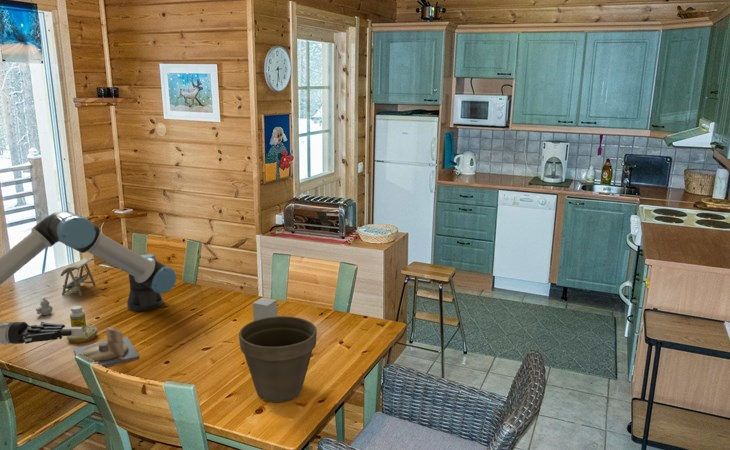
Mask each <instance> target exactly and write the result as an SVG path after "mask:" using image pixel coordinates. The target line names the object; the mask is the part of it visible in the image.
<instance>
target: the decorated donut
mask: <svg viewBox="0 0 730 450" xmlns="http://www.w3.org/2000/svg"><path fill="white" fill-rule="evenodd" d="M78 327H83V333H84V334H83V335H82V336H66V339H67V340H68V341H69V342H71V343H73V344H83V343H86V342H89V340H90V341H92V340H93V339H94V338H96V336H97V334H98V328H97V327H96V326H94V325H89V324H88V325H87V324H86V326H78Z"/></svg>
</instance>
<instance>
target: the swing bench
mask: <svg viewBox="0 0 730 450" xmlns="http://www.w3.org/2000/svg"><path fill="white" fill-rule="evenodd" d="M91 261H94V258H93V257H83V258H81V259H79V260H78V261H77V262H76V263H74V264H73V265H70V266H69V267H66V268H65V269H64V270H63V271H62V272H61V273H60V276H61V277H63V276H64V275H65V279H64V282H63V283H64V284H63V285H62V287H63V289H62V293H61V295H62V296H65V295H66V293H75V294H77V293H78V295H79V296H80V297H82V296H83V293H82V291H81V288H80V286H81V284H82V283H84V284H86V283H88V284H89V283H90V284H92V285H93V287H94V286H97V284H96V282H95V279H94V277H93V275H92V273H91V270H90V267H89V266H88V264H89V263H90V262H91ZM75 270H76V271H77V274H76V275H74V274H73V271H75ZM84 270H85V271H86V274H83V272H84ZM69 276H70V277H71V279H72V280H71V281H70V282H68V280H69ZM88 277H89V278H90V281H89V280H87V279H88ZM75 288H76V290H77V291H76V290H74V289H75Z"/></svg>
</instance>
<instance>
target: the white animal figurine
mask: <svg viewBox="0 0 730 450" xmlns="http://www.w3.org/2000/svg"><path fill="white" fill-rule="evenodd" d="M39 304H40V306H39V307H37V308H36V309H35V311H36V314H37V315H44V316H47V315H50V314H51V313H52V312H53V306H51V305H50V301H49V300H48V299H46V297H44V298H42V299H41V301H40V303H39Z"/></svg>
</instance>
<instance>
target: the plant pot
mask: <svg viewBox="0 0 730 450" xmlns="http://www.w3.org/2000/svg"><path fill="white" fill-rule="evenodd" d="M317 334H318V332H317V327H316V325H315V324H314V323H312V322H311V321H310V320H307V319H303V318H301V317H297V316H296V317H295V316H285V315H281V316H280V315H279V316H278V315H277V316H275V317H267V318H262V319H258V320H255V321H253V320H252V321H250V322H248V323H246V324H245V325H243V327H241V329H240V330H239V332H238V339H239V348H240V351H241V353H242V354H243V355H244V358H245V362H246V364H247V367H248V370H249V373H250V377H251V380H252V384H253V387H254V388H255V391H256V392H255V393H256V395H257V396H258V397H259V398H260V399H262V400H264V401H266V402H270V403H282V402H287V401H291V400H293V399H295V398H297V397H298V396H299V395H300V394H301V392H302V389H303V386H304V383H305V379H306V375H307V371H308V369H309V364H310V361H311V358H312V352H313V350H314V349H315V348H316V346H317V336H318V335H317Z"/></svg>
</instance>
